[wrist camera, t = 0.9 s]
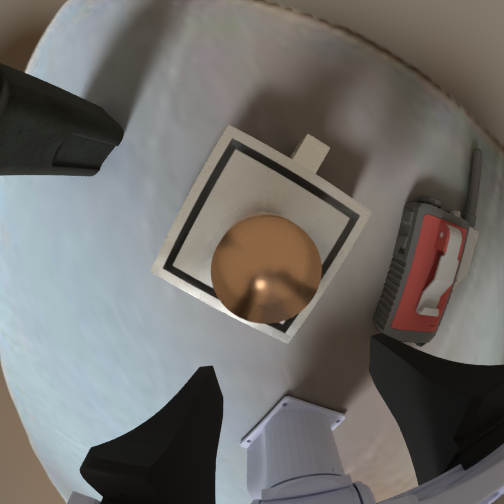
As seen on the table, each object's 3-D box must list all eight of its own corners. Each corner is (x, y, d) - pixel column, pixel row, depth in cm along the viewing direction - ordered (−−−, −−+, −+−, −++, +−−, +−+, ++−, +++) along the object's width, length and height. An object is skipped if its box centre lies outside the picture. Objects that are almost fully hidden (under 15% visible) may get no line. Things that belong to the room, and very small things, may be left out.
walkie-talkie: (429, 339, 23) (475, 153, 19) (451, 360, 19) (504, 151, 15) (362, 334, 23) (412, 118, 19) (380, 360, 18) (441, 107, 14)
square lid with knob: (281, 320, 18) (296, 387, 11) (175, 263, 17) (131, 306, 10) (346, 217, 16) (402, 235, 9) (236, 150, 15) (225, 121, 9)
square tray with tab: (281, 315, 22) (287, 344, 17) (170, 255, 21) (150, 271, 16) (360, 186, 20) (386, 185, 15) (247, 117, 18) (246, 97, 14)
